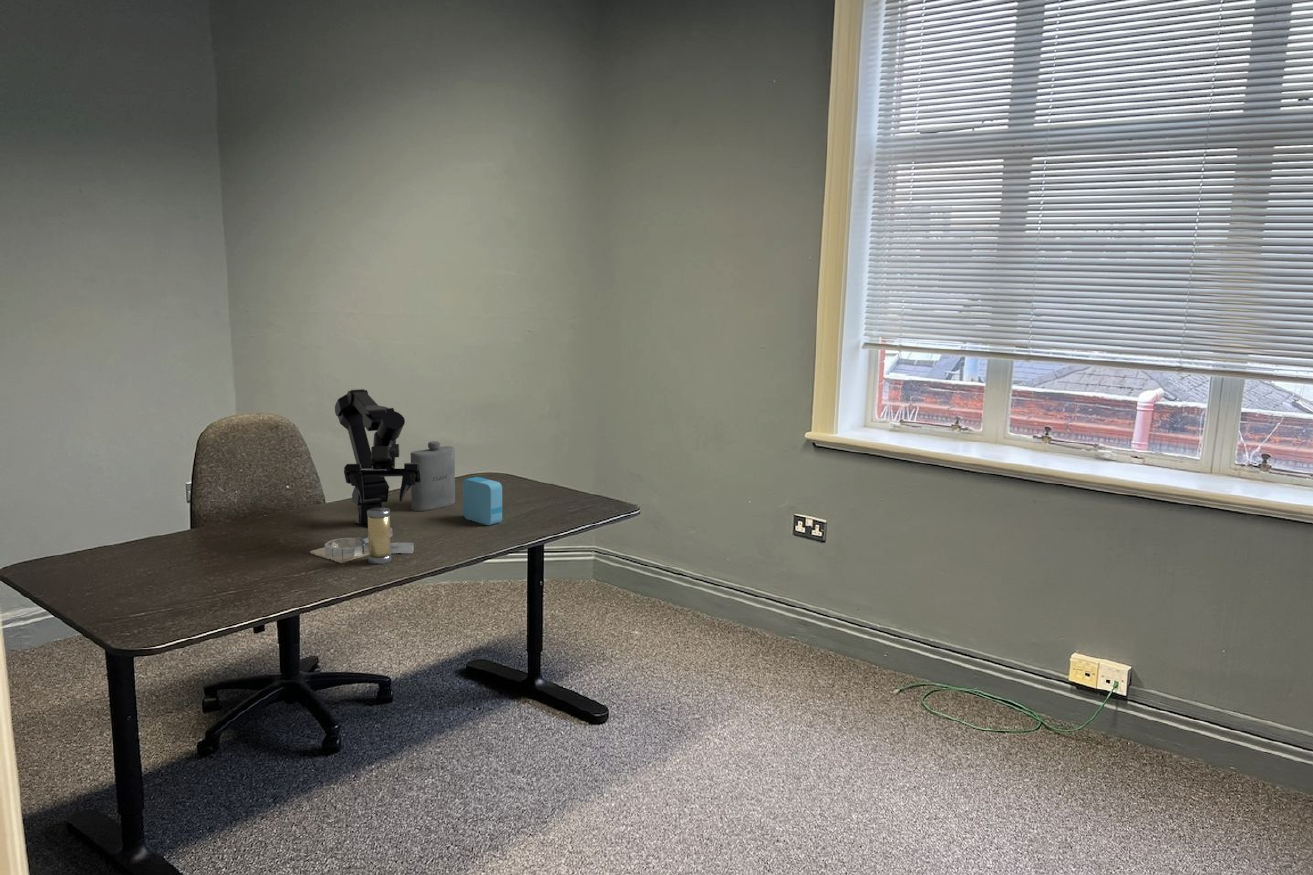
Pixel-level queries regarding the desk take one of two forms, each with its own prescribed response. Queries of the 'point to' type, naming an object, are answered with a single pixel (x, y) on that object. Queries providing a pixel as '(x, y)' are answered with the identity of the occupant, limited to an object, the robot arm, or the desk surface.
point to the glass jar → (379, 535)
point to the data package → (482, 500)
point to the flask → (434, 477)
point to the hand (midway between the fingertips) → (381, 501)
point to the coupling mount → (355, 548)
